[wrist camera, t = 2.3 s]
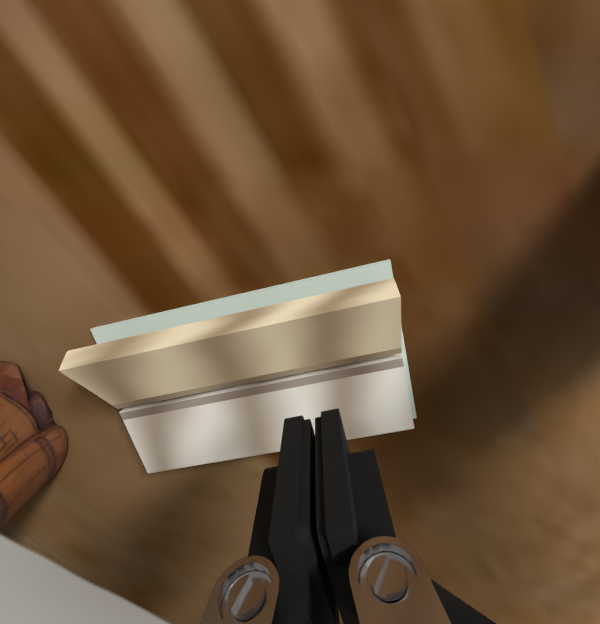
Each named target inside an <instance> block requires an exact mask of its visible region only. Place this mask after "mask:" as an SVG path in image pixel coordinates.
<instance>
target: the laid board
mask: <svg viewBox="0 0 600 624" xmlns="http://www.w3.org/2000/svg"><path fill="white" fill-rule="evenodd" d="M337 408H339V411H340V415H341V419H342V423H343V427H344V431H345V436H346V440H350V439H356V438H362V437H368V436H374V435H380V434H386V433H391V432H397V431H403V430H409V429H414V423H413V417H412V411H411V405H410V400H409V394H408V388H407V382H406V376H405V370H404V364H403V359H402V356H401V354H395V355H390V356H385V357H380V358H375V359H370V360H364V361H359V362H354V363H349V364H344V365H339V366H334V367H329V368H324V369H319V370H314V371H308V372H303V373H298V374H293V375H288V376H283V377H278V378H273V379H268V380H263V381H257V382H252V383H247V384H242V385H237V386H232V387H227V388H222V389H217V390H212V391H207V392H201V393H196V394H191V395H186V396H181V397H176V398H171V399H166V400H161V401H156V402H151V403H145V404H140V405H135V406H130V407H125V408H123V409H122V410H121V411H120V412H119V413H120V415H121V417H122V419H123V421H124V423H125V426H126V428H127V430H128V432H129V434H130V436H131V438H132V441H133V443H134V445H135V447H136V449H137V451H138V453H139V456H140V458H141V460H142V462H143V464H144V466H145V468H146V470H147V473H154V472H160V471H166V470H172V469H178V468H184V467H190V466H196V465H201V464H207V463H213V462H219V461H225V460H231V459H237V458H243V457H249V456H255V455H261V454H267V453H273V452H279V451H280V448H281V440H282V432H283V425H284V419H285V418H291V417H296V416H301V415H302V416H303V417H304V420H306V419H310V420H311V423H312V426H313V430H314V434H315V418H317V417H321V412H322V411H327V410H332V409H337Z"/></svg>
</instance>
